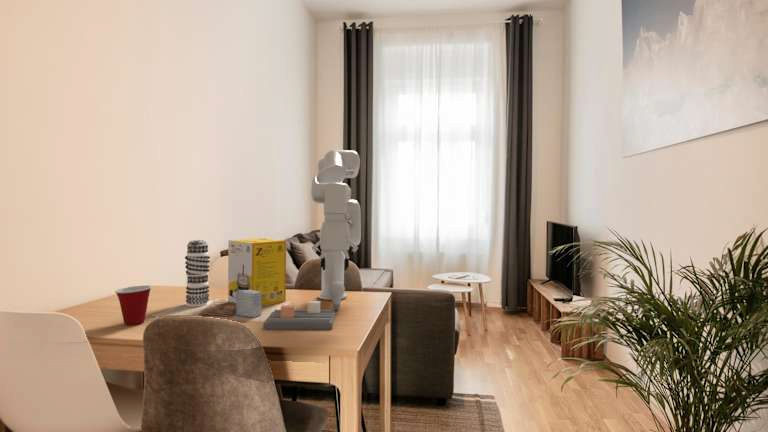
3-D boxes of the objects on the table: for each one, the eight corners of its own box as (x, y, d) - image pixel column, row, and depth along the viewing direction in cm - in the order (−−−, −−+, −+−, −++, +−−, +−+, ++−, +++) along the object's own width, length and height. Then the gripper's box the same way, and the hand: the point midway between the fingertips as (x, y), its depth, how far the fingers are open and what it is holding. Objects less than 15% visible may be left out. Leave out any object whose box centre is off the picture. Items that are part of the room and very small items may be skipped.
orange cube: (282, 317, 153) (282, 305, 153) (294, 317, 154) (294, 305, 153) (280, 319, 150) (280, 307, 150) (292, 319, 150) (293, 307, 150)
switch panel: (272, 317, 163) (272, 308, 163) (334, 317, 164) (334, 308, 164) (263, 329, 148) (263, 319, 148) (332, 329, 149) (332, 320, 149)
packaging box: (228, 301, 186) (228, 240, 185) (262, 295, 198) (262, 238, 197) (251, 308, 175) (251, 243, 174) (285, 301, 187) (286, 240, 187)
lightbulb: (341, 312, 171) (342, 283, 170) (326, 311, 172) (326, 282, 171) (346, 308, 177) (346, 280, 176) (331, 307, 178) (331, 279, 177)
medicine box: (261, 315, 165) (261, 291, 165) (253, 318, 161) (253, 293, 161) (244, 312, 168) (244, 289, 168) (235, 315, 164) (235, 291, 164)
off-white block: (308, 312, 161) (308, 300, 161) (320, 312, 161) (320, 301, 161) (307, 314, 158) (307, 302, 158) (319, 314, 158) (319, 302, 158)
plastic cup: (127, 318, 158) (127, 283, 157) (158, 319, 157) (158, 284, 157) (107, 327, 147) (106, 290, 146) (140, 328, 146) (140, 290, 146)
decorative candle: (189, 308, 174) (189, 242, 173) (181, 303, 181) (181, 240, 180) (213, 304, 180) (213, 241, 179) (205, 300, 187) (205, 239, 186)
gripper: (360, 218, 163) (359, 268, 163) (311, 217, 162) (310, 268, 162) (360, 219, 155) (359, 271, 156) (308, 218, 154) (308, 271, 155)
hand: (334, 269), depth 159 cm, fingers open, 6 cm apart
